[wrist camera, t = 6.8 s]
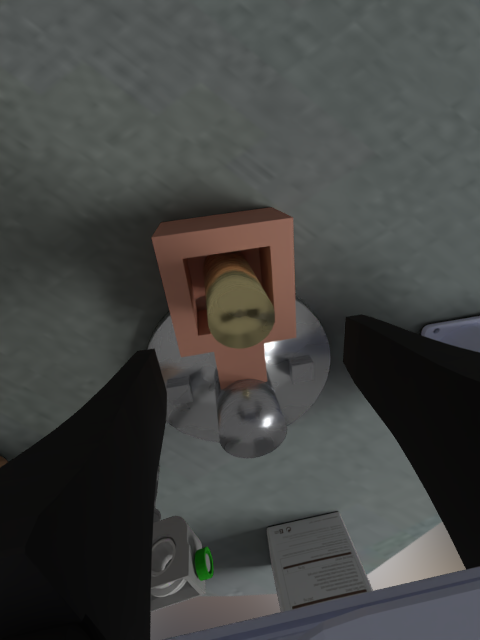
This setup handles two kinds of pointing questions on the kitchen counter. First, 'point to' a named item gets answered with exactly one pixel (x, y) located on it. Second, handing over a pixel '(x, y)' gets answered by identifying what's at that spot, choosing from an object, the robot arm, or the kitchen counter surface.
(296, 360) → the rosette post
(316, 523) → the supplement box
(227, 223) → the bracket
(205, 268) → the gold capsule
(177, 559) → the mechanical component
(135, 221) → the kitchen counter surface
